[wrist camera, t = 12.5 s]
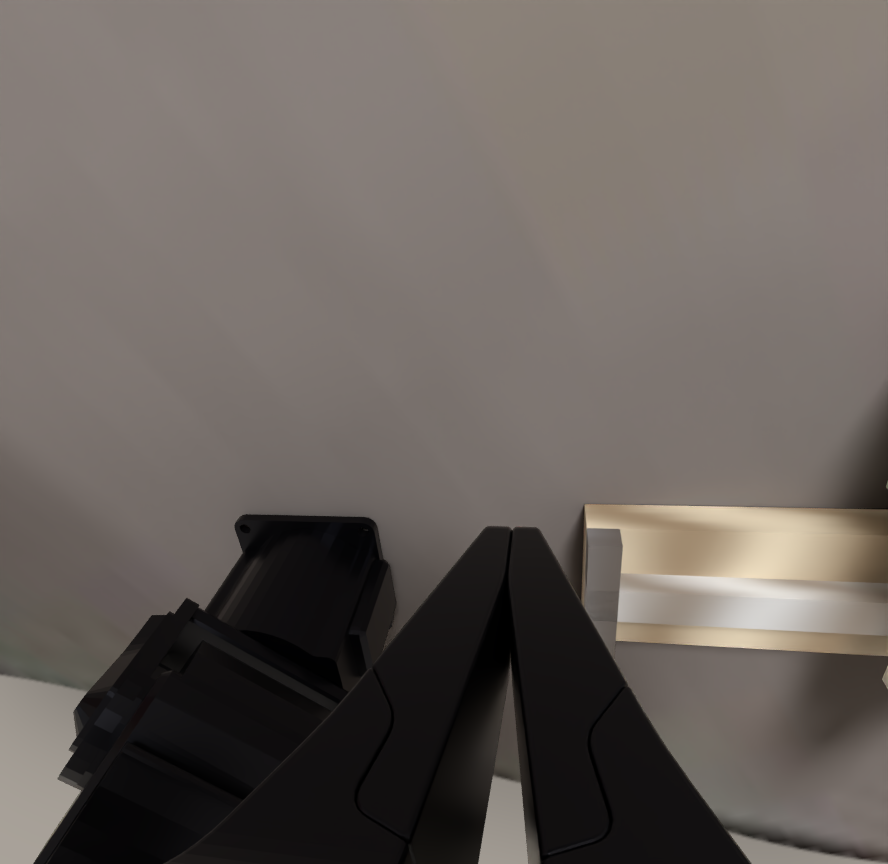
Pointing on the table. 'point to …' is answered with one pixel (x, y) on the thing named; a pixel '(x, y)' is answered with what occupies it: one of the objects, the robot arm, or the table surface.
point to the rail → (738, 577)
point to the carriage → (885, 677)
